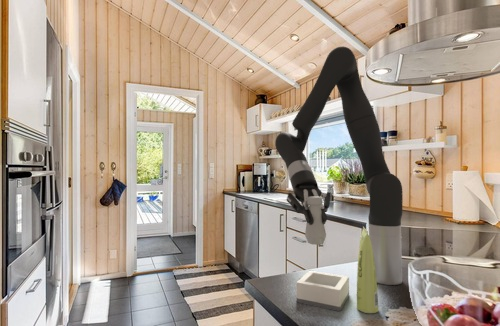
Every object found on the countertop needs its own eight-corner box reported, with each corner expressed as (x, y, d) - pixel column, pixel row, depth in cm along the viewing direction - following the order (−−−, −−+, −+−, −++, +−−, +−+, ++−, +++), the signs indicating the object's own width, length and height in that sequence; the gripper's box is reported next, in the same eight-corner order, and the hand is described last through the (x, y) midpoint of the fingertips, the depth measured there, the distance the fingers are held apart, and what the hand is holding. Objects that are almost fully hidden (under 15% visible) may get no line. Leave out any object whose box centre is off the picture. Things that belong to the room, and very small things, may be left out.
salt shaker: (311, 239, 89) (310, 195, 90) (329, 242, 86) (328, 196, 86) (301, 243, 85) (300, 196, 85) (320, 246, 81) (318, 197, 82)
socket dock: (309, 288, 88) (309, 270, 88) (349, 295, 82) (348, 276, 83) (296, 302, 78) (296, 282, 78) (340, 311, 73) (339, 290, 73)
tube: (350, 306, 75) (349, 227, 76) (364, 302, 78) (363, 225, 78) (368, 316, 70) (367, 231, 71) (383, 311, 73) (382, 229, 73)
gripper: (282, 169, 92) (296, 215, 79) (326, 168, 94) (346, 213, 82) (278, 186, 97) (290, 232, 85) (319, 185, 99) (337, 229, 87)
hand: (318, 222), depth 83 cm, fingers closed on salt shaker, 3 cm apart
